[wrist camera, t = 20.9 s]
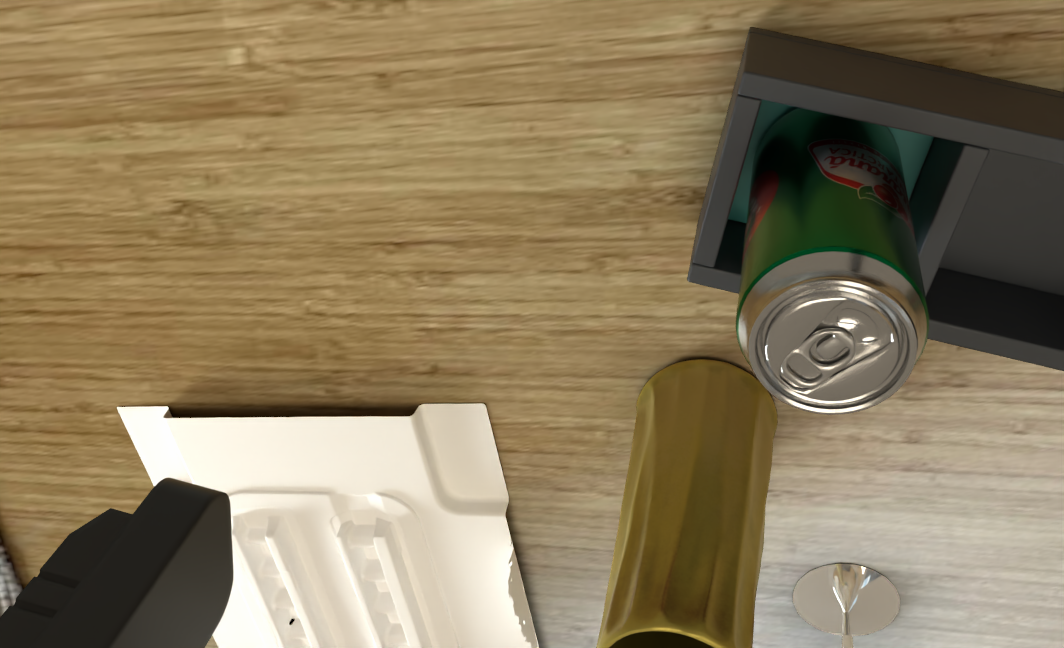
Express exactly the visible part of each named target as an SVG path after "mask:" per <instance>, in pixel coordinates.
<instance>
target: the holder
mask: <svg viewBox="0 0 1064 648" xmlns="http://www.w3.org/2000/svg"><path fill="white" fill-rule="evenodd" d="M798 108H804V109H808V110H813V111H817V112H822V113H827V114H831V115H836V116H840V117H845V118H850V119H854V120H859V121H863V122H868V123H873V124H877V125H882V126H886V127H888V128H889V130H890V131H891V133H892V135H893V136H894V138H895V140H896V143H897V145H898V147H899V152H900V157H901V162H902V168H903V173H904V179H905V185H906V190H907V196H908V201H909V207H910V212H911V218H912V224H913V229H914V235H915V240H916V246H917V251H918V257H919V263H920V268H921V274H922V279H923V285H924V290H925V296H926V302H927V307H928V313H929V333H928V338H927V339H931V340H936V341H940V342H944V343H948V344H952V345H957V346H961V347H965V348H969V349H973V350H978V351H982V352H986V353H990V354H994V355H999V356H1003V357H1007V358H1011V359H1015V360H1020V361H1024V362H1028V363H1032V364H1036V365H1041V366H1045V367H1049V368H1053V369H1057V370H1062V371H1064V93H1063V92H1058V91H1054V90H1049V89H1044V88H1039V87H1035V86H1030V85H1025V84H1020V83H1016V82H1011V81H1006V80H1001V79H997V78H992V77H987V76H982V75H978V74H973V73H968V72H963V71H959V70H954V69H949V68H944V67H939V66H935V65H930V64H925V63H920V62H916V61H911V60H906V59H901V58H897V57H892V56H887V55H882V54H878V53H873V52H868V51H863V50H859V49H854V48H849V47H844V46H840V45H835V44H830V43H825V42H821V41H816V40H811V39H806V38H802V37H797V36H792V35H787V34H782V33H778V32H773V31H768V30H763V29H759V28H754V27H750V29H749V33H748V37H747V40H746V44H745V48H744V52H743V55H742V59H741V63H740V67H739V70H738V74H737V78H736V82H735V85H734V89H733V93H732V97H731V100H730V104H729V108H728V112H727V115H726V119H725V123H724V126H723V130H722V134H721V138H720V141H719V145H718V149H717V153H716V156H715V160H714V164H713V168H712V171H711V175H710V179H709V183H708V186H707V190H706V194H705V198H704V201H703V205H702V209H701V213H700V216H699V220H698V224H697V230H696V235H695V240H694V246H693V251H692V256H691V262H690V267H689V272H688V277H687V280H688V281H689V282H692V283H696V284H700V285H704V286H708V287H713V288H717V289H721V290H725V291H730V292H734V293H738V294H739V288H740V278H741V269H742V260H743V251H744V241H745V232H746V223H747V213H748V204H749V195H750V185H751V176H752V167H753V160H754V156H755V152H756V150H757V147H758V145H759V143H760V141H761V140H762V138H763V136H764V135H765V133H766V132H767V131H768V130H769V129H770V128H771V126H772V125H773V124H774V123H776V122H777V121H778V120H779V119H781V118H782V117H783V116H785V115H787V114H788V113H790V112H792V111H794V110H796V109H798Z"/></svg>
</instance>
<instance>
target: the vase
mask: <svg viewBox="0 0 1064 648" xmlns="http://www.w3.org/2000/svg"><path fill="white" fill-rule="evenodd" d="M636 410H637V417H636V423H635V429H634V435H633V442H632V449H631V455H630V463H629V468H628V474H627V479H626V485H625V490H624V496H623V502H622V508H621V514H620V520H619V527H618V532H617V537H616V543H615V549H614V555H613V561H612V566H611V572H610V578H609V583H608V589H607V594H606V600H605V606H604V612H603V618H602V623H601V628H600V633H599V638H598V643H597V646H596V648H752V644H753V628H754V609H755V598H756V590H757V585H758V579H759V573H760V567H761V557H762V552H763V545H764V526H765V504H766V498H767V492H768V486H769V480H770V473H771V465H772V452H773V438H774V435H775V432H776V428H777V423H778V422H777V412H776V408H775V405H774V402H773V400H772V398H771V396H770V394H769V392H768V391H767V389H766V388H765V387H764V386H763V385H762V383H761V382H760V381H759V380H757V379H756V378H755V377H753V376H752V375H751V374H749V373H747V372H746V371H744V370H742V369H740V368H738V367H736V366H734V365H731V364H728V363H725V362H720V361H715V360H704V359H699V360H688V361H683V362H679V363H676V364H673V365H670V366H668V367H666V368H664V369H663V370H661V371H659V372H658V373H656V374H655V375H654V376H653V377H652V378H651V379H650V380H649V381H648V382H647V383H646V384H645V386H644V387H643V389H642V391H641V393H640V395H639V397H638V400H637V405H636Z"/></svg>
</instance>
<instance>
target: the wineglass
mask: <svg viewBox="0 0 1064 648" xmlns="http://www.w3.org/2000/svg"><path fill="white" fill-rule="evenodd" d="M793 604H794V606H795V608H796V611H797V613H798V614H799V615H800V616H801V617H802V618H803V619H804V620H805V621H806V622H807V623H808V624H810V625H812V626H814V627H815V628H817V629H819V630H821V631H824V632H827V633H831V634H834V635H841V636H842V648H853V638H852V636H860V635H868V634H871V633H873V632H876V631H879V630H881V629H883V628H884V627H886V626H887V625H888V624H890V623H891V622H892V621H893V620H894V619H895V617H896V615H897V614H898V612H899V608H900V597H899V595H898V592H897V589H896V588H895V586H894V585H893V584H892V583H891V582H890V581H889V580H888V579H887V578H886V577H884V576H883V575H881V574H879V573H878V572H876V571H874V570H872V569H869V568H865V567H862V566H859V565H852V564H833V565H826V566H821V567H819V568H817V569H814V570H812V571H810V572H808V573H807V574H805V575H804V576H803V577H802V578H801V579H800V580H798V582H797V584H796V586H795V588H794V590H793Z"/></svg>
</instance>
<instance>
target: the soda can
mask: <svg viewBox="0 0 1064 648" xmlns="http://www.w3.org/2000/svg"><path fill="white" fill-rule="evenodd" d="M736 332H737V340H738V343H739V346H740V349H741V351H742V353H743V355H744V357H745V359H746V361H747V362H748V363H749V365H750V366H751V367H752V369H753V371H754V373H755V374H756V376H757V378H758V380H759V381H760V382H761V383H762V385H763V386H764V387H765V388H766V389H767V390H768V391H769V392H770V393H771V394H772V395H774V396H775V397H776V398H778V399H779V400H781V401H782V402H784V403H786V404H788V405H790V406H792V407H795V408H798V409H801V410H803V411H808V412H812V413H817V414H828V415H832V414H847V413H853V412H857V411H861V410H865V409H868V408H870V407H872V406H875V405H877V404H879V403H881V402H882V401H884V400H886V399H887V398H889V397H890V396H891V395H893V394H894V393H895V392H896V391H898V389H899V388H900V387H901V386H902V385H903V384H904V383H905V382H906V380H907V378H908V377H909V375H910V374H911V372H912V369H913V367H914V365H915V364H916V362H917V361H918V359H919V358H920V356H921V354H922V353H923V350H924V348H925V345H926V343H927V338H928V333H929V313H928V307H927V302H926V296H925V290H924V285H923V279H922V274H921V268H920V263H919V257H918V251H917V246H916V240H915V235H914V229H913V224H912V218H911V212H910V207H909V201H908V196H907V190H906V185H905V179H904V173H903V168H902V162H901V157H900V152H899V147H898V145H897V143H896V140H895V138H894V136H893V135H892V133H891V131H890V130H889V128H888V127H886V126H882V125H877V124H873V123H868V122H863V121H859V120H854V119H850V118H845V117H840V116H836V115H831V114H827V113H822V112H817V111H813V110H808V109H804V108H798V109H796V110H794V111H792V112H790V113H788V114H787V115H785V116H783V117H782V118H781V119H779V120H778V121H777V122H776V123H774V124H773V125H772V126H771V128H770V129H769V130H768V131H767V132H766V133H765V135H764V136H763V138H762V140H761V141H760V143H759V145H758V147H757V150H756V152H755V156H754V160H753V167H752V176H751V185H750V195H749V204H748V213H747V223H746V232H745V241H744V251H743V260H742V269H741V278H740V288H739V297H738V306H737V316H736Z"/></svg>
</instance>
